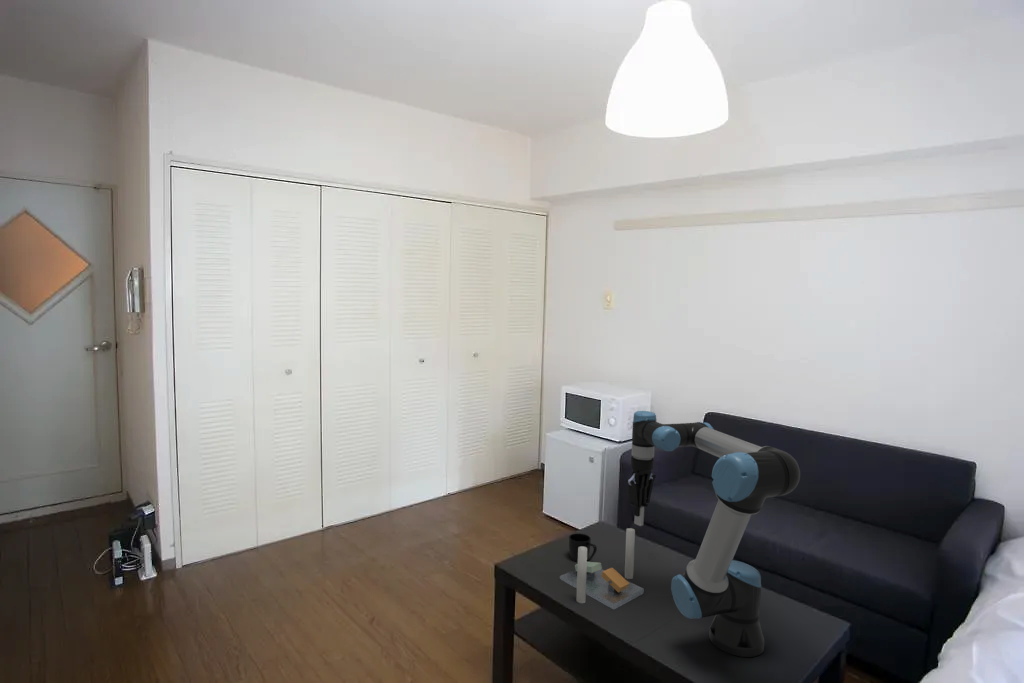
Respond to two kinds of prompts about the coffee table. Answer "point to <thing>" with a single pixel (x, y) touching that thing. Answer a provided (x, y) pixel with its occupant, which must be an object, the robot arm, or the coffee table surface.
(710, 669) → the coffee table surface
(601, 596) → the panel
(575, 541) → the mug
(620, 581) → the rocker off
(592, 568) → the rocker on
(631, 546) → the cord post right
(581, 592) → the cord post left
